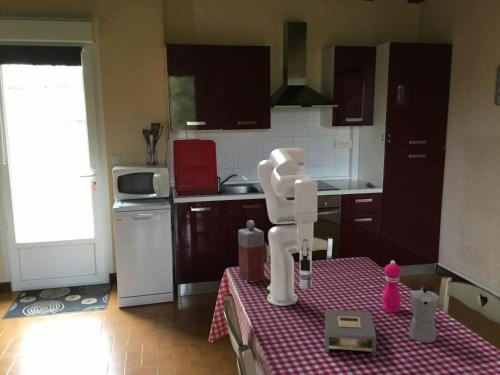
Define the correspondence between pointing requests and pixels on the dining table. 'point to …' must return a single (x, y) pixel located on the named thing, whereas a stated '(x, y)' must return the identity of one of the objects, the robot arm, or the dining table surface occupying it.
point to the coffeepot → (423, 315)
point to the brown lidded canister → (251, 253)
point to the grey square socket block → (349, 331)
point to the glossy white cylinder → (306, 274)
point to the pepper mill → (392, 288)
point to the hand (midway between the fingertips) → (305, 267)
